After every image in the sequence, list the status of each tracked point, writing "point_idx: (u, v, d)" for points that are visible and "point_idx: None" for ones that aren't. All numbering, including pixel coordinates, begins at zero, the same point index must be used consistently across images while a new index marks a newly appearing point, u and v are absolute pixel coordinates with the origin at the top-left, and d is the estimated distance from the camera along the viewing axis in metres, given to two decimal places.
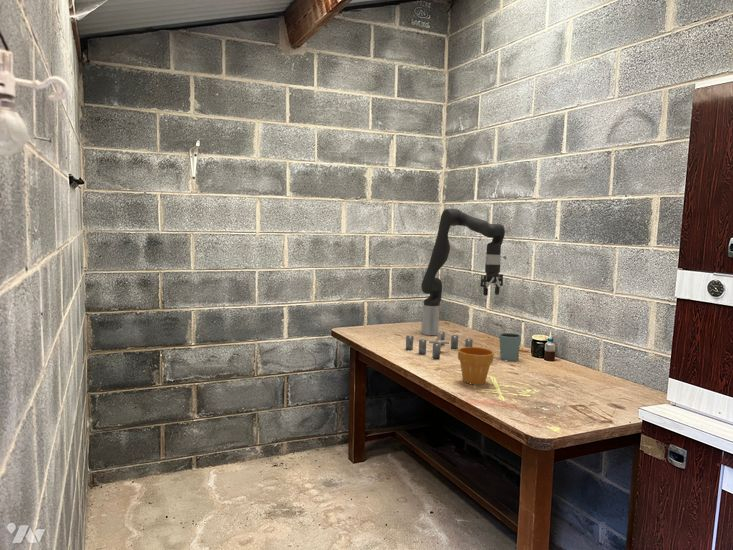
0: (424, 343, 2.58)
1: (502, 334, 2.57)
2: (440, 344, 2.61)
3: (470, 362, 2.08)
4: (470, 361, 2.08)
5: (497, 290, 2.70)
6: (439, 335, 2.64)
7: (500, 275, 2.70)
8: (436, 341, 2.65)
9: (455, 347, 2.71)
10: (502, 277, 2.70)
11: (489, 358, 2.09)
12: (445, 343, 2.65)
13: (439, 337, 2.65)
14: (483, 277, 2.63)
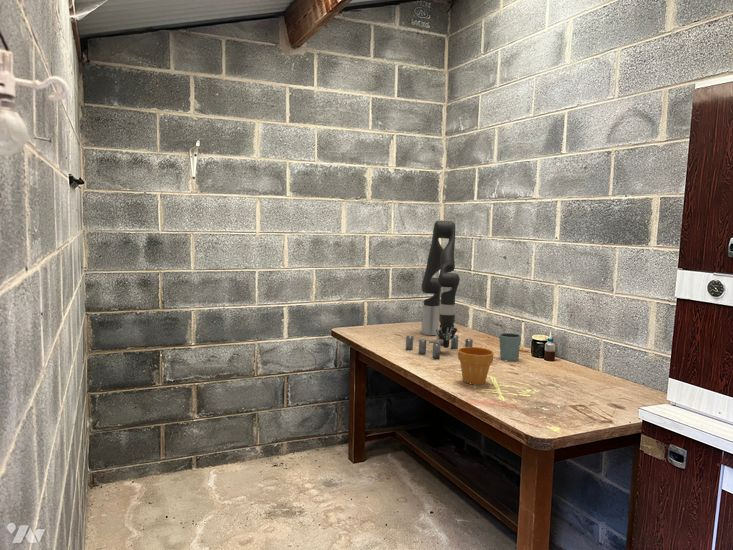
0: (424, 343, 2.58)
1: (502, 334, 2.57)
2: (439, 343, 2.61)
3: (470, 362, 2.08)
4: (470, 361, 2.08)
5: None
6: None
7: (455, 328, 2.64)
8: (435, 341, 2.65)
9: (455, 347, 2.71)
10: (455, 331, 2.63)
11: (489, 358, 2.09)
12: None
13: (438, 337, 2.65)
14: (438, 332, 2.58)
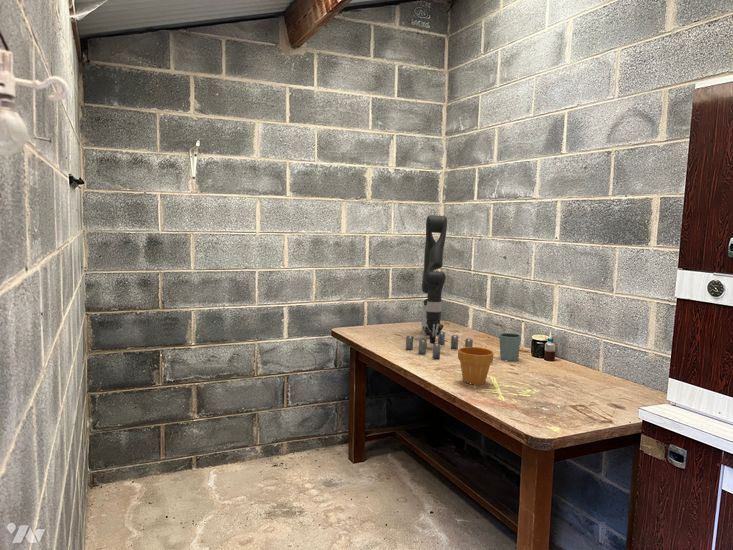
0: (424, 343, 2.58)
1: (502, 334, 2.57)
2: (426, 339, 2.68)
3: (470, 362, 2.08)
4: (470, 361, 2.08)
5: None
6: (424, 331, 2.73)
7: (441, 325, 2.71)
8: (422, 337, 2.73)
9: (455, 347, 2.71)
10: (442, 327, 2.71)
11: (489, 358, 2.09)
12: None
13: (424, 333, 2.73)
14: (425, 329, 2.65)
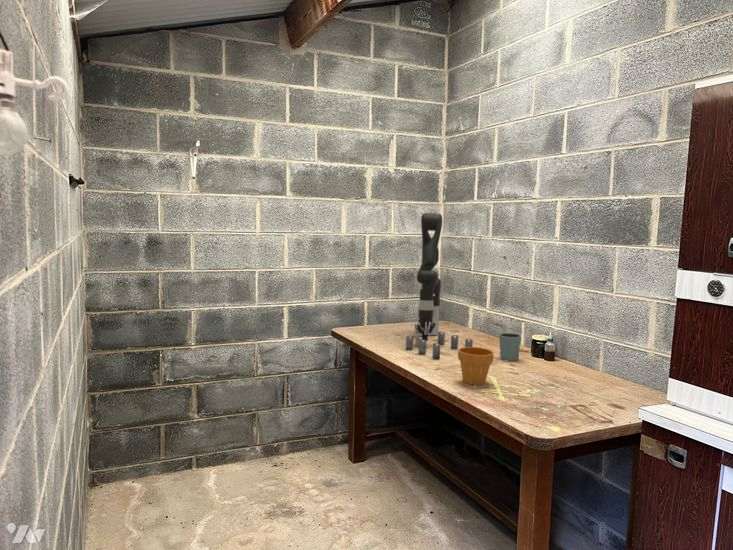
0: (424, 343, 2.58)
1: (502, 334, 2.57)
2: (418, 337, 2.73)
3: (470, 362, 2.08)
4: (471, 360, 2.08)
5: None
6: (416, 329, 2.77)
7: (433, 323, 2.76)
8: (414, 335, 2.77)
9: (455, 347, 2.71)
10: (434, 326, 2.76)
11: (489, 358, 2.09)
12: None
13: (416, 331, 2.77)
14: (417, 327, 2.70)
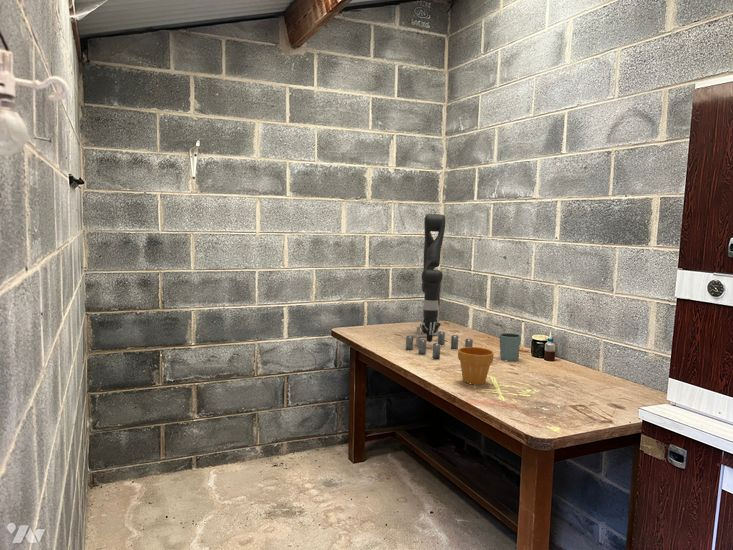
0: (424, 343, 2.58)
1: (502, 334, 2.57)
2: (419, 338, 2.72)
3: (470, 362, 2.08)
4: (471, 361, 2.08)
5: None
6: (418, 330, 2.76)
7: (438, 323, 2.73)
8: (415, 336, 2.77)
9: (455, 347, 2.71)
10: None
11: (489, 358, 2.09)
12: (424, 337, 2.76)
13: (418, 332, 2.76)
14: (422, 327, 2.67)
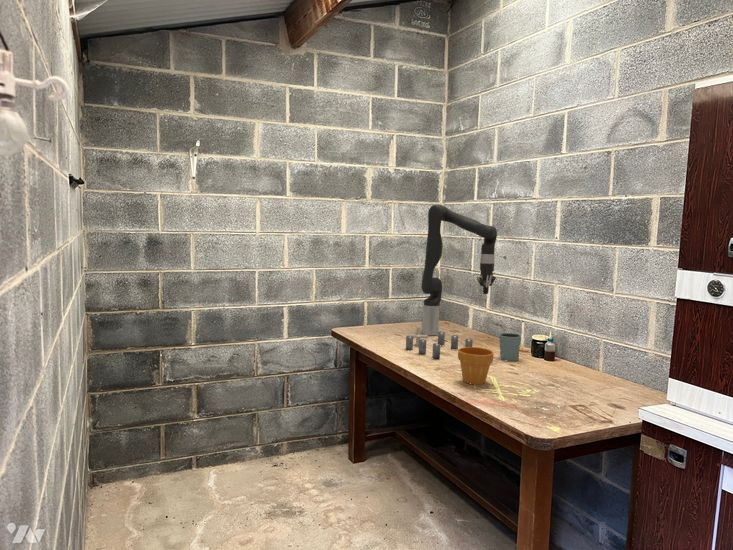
0: (424, 343, 2.58)
1: (502, 334, 2.57)
2: (419, 338, 2.72)
3: (470, 362, 2.08)
4: (471, 361, 2.08)
5: None
6: (418, 330, 2.76)
7: (493, 276, 2.90)
8: (415, 336, 2.77)
9: (455, 347, 2.71)
10: (494, 279, 2.89)
11: (489, 358, 2.09)
12: (424, 337, 2.76)
13: (418, 332, 2.76)
14: (479, 279, 2.84)
